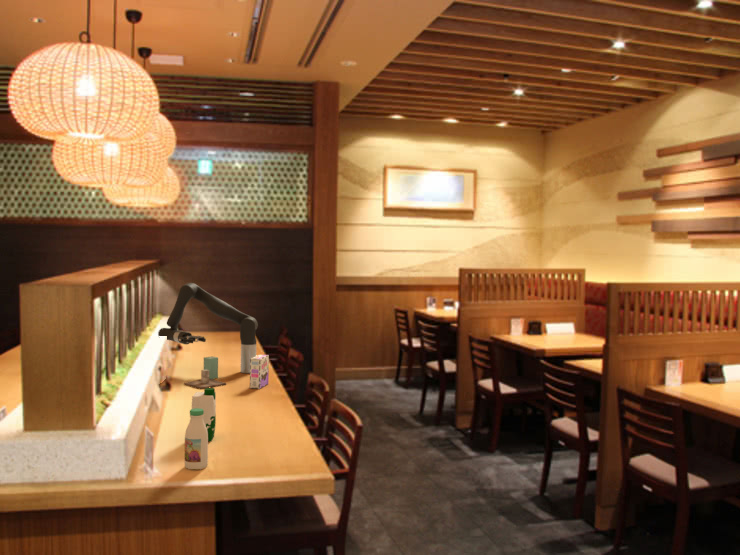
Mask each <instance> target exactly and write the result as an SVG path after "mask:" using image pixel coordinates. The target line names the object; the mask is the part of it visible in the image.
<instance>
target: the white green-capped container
mask: <svg viewBox="0 0 740 555" xmlns="http://www.w3.org/2000/svg"><path fill="white" fill-rule="evenodd" d="M215 388H216V387H211V388H205V389H203V391H196V392H194V393H193V395H192V398H191V409H195V408H200V409H203V410H204V414H203V415H204V416H203V421H204V423H205V426H206V428H207V432H208V441H211V442H212V441H213V439H214V437H215V434H216V433H215V431H216V424H217V422H216V421H217V419H216V416H217V415H216V412H217V411H216V410H217V409H216V408H217V405H216V404H217V403H216V402H217V399H216V397H217V396H216V395H217V393H216V391H215Z"/></svg>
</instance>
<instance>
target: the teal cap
mask: <svg viewBox="0 0 740 555" xmlns="http://www.w3.org/2000/svg"><path fill="white" fill-rule="evenodd" d="M203 370H209V379H213V380H216V379H215V378H217V379H219V357H218V356H217V357H216V356H206V357H205V356H204V357H203Z"/></svg>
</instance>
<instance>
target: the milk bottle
mask: <svg viewBox="0 0 740 555" xmlns="http://www.w3.org/2000/svg"><path fill="white" fill-rule="evenodd" d="M203 414H204V410H203V409H200V408H195V409H192V408H191V409H190V410H189V417H190V419H189V423H188V425H187V427H186V430H185V435H184V468H185V467H186V468H188V469H187V470H189V469H200V470H203V468H204V469H206V468H207V467H208V465H209V463H208V462H209V442H208V432H207V428H206V426H205V423H204V421H203V416H204V415H203ZM205 467H206V468H205ZM186 468H185V469H186Z"/></svg>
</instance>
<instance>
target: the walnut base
mask: <svg viewBox="0 0 740 555" xmlns="http://www.w3.org/2000/svg"><path fill="white" fill-rule="evenodd" d="M200 372H201V374H200V376H201V377H200V379H198V380H193V381H187V382H186V381H185V382H184V383H183V384H185V385H184V386H188V385H189V387H191V386H192V388H195V387H196V388H195V389H198V388H200V389H199V390H204V389H203V388H209V387H211V388H216V387H215V386H217V387H221V385H222V386H226V385H227V382H224V381H220V380H217V379H209V370H204V369H201V370H200Z"/></svg>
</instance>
